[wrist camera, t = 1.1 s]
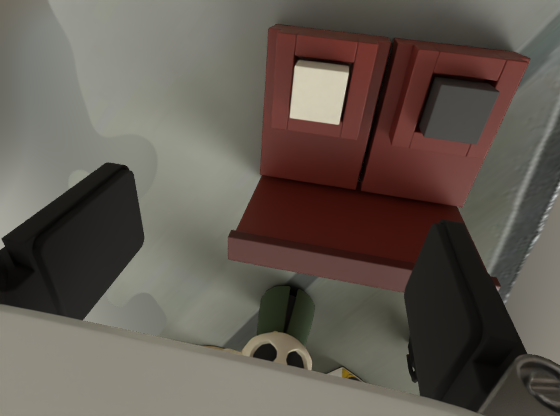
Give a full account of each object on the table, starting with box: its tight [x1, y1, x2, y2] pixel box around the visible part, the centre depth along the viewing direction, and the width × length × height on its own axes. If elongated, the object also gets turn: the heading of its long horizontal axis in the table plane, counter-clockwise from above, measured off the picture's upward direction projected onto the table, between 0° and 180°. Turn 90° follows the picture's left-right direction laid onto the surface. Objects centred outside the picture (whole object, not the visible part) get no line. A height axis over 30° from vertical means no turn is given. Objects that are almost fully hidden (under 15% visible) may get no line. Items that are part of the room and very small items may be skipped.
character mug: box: [223, 286, 315, 371], centre depth 35 cm, size 11×7×13 cm, turn 77°
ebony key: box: [419, 77, 500, 145], centre depth 21 cm, size 3×3×2 cm
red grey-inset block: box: [360, 38, 530, 207], centre depth 25 cm, size 11×8×4 cm
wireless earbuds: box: [406, 336, 418, 383], centre depth 37 cm, size 7×2×5 cm, turn 6°
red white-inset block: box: [260, 24, 391, 190], centre depth 25 cm, size 11×8×4 cm
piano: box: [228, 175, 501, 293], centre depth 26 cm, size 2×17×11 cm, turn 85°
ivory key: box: [289, 60, 349, 125], centre depth 22 cm, size 3×3×2 cm
